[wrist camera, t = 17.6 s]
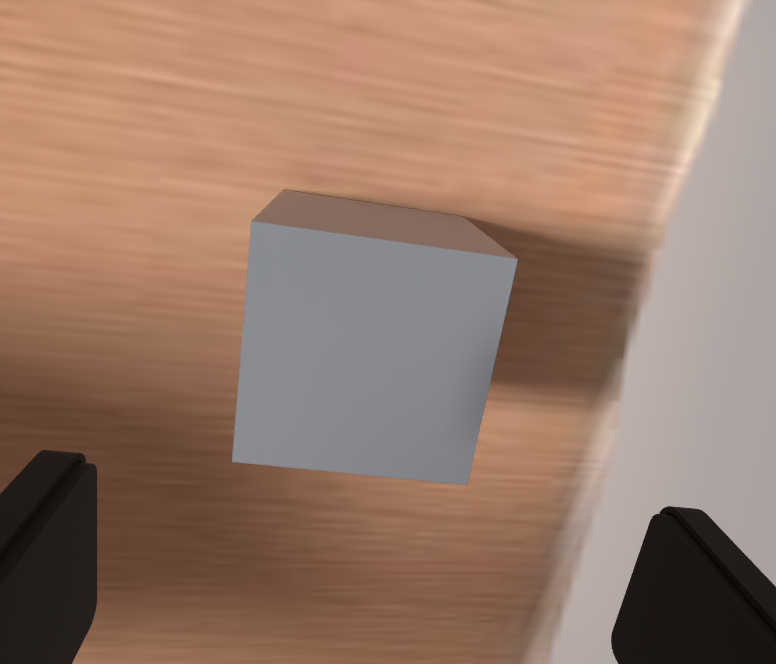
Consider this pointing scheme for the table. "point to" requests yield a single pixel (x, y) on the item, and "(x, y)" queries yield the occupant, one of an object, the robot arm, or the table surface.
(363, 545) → the table surface
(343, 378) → the gray foam cube
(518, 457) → the table surface
